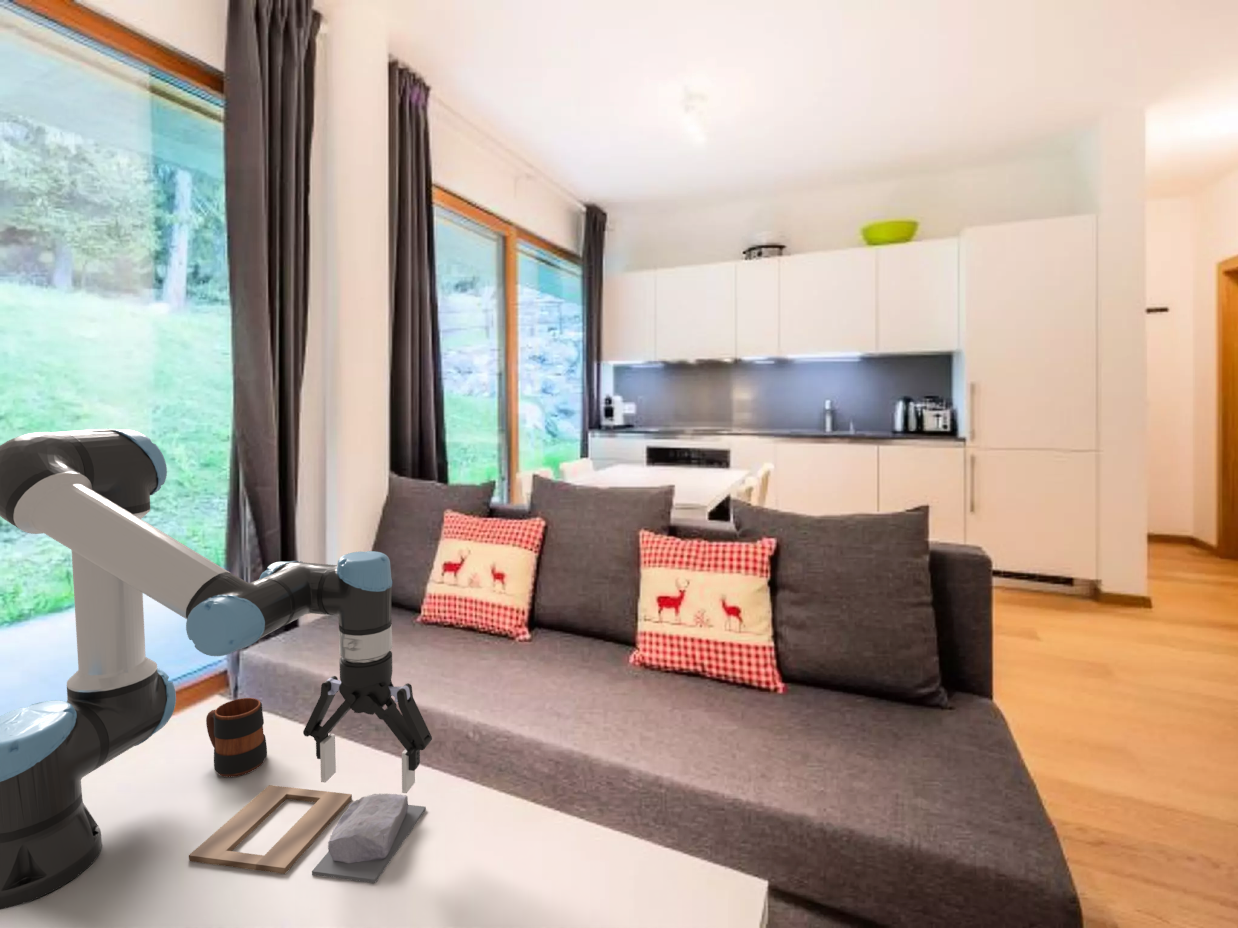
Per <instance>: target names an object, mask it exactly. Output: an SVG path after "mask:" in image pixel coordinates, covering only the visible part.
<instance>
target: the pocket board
mask: <svg viewBox="0 0 1238 928" xmlns="http://www.w3.org/2000/svg"><path fill="white" fill-rule="evenodd" d="M352 796H353V795H352V794H351V793H344V792H333V791H327V790H326V791H325V790H319V789H318V790H316V789H308V788H299V787H298V788H297V787H290V786H282V785H270V784H269V785H267V786H266V787H265V788H264V789H263V790H262V791H260V792H259V793H258V794H256V796H255V797H254V798H252V800H250V801H249V802H248V803H247V804H246V805H245V806H243V807H242V808H241V809H240V810H239V811H238V812H236V813H235V814H234V815H233V816H232V817H230V818H229V820H227V821H226V822H225V823H224V824H222V826H220V827H219V828H218V829H217V830H216V831H214V832H213V833H212V834H211V835H210V836H209V837H208V838H207V839H206V840H205V841H203V842H202V843H201V844H200V845H199V846H197V847H196V848H195V849H194V850H193V851H192V852H191V853H189V854H188V862H190V863H198V864H206V865H211V866H212V865H213V866H221V867H229V868H236V869H242V870H249V871H250V870H251V871H259V872H264V873H265V872H266V873H274V874H280V875H286V874H287V873H288V872H289V871H290V869H291V868H292V867H293V866H294V865H295V864H296V862H298V861H299V859H300V858H301V857H302V856H303V855H304V854H305V853H306V852H307V851H308V849H310V847H311V846H312V845H313V844H314V843H315V841H317V839H318V838H319V837H320V836H321V834H323V832H324V831H326V829H327V828H328V827H329V826H330V825H331V823H333V822H334V820H335V819H337V817H338V816H339V815H340V814H341V812H342V811H343V810H344V809H345V808H346V807H347V806H349V804H350V803H351V801H352V799H353V797H352ZM287 800H289V801H298V802H305V803H306V802H307V803H314V804H313V805H312V806H311V807H310V808H309V809H308V810H307V811H306V812H305V813H304V814H303V815H301V817H300V818H299V819H298V820H297V822H295V823H294V825H292V826H291V827H290V828H289V829H288V830H287V832H285V833H284V834H283V835H282V837H280V839H279V840H278V841H277V842H276V843H275V844H274V845H272V846H271V848H270V849H268V851H267V852H266V853H265V854H256V853H249V852H240V851H234V850H235V849H236V848H237V847H238V846H239V845H240V844H241V843H243V841H244V840H245V839H247V838H248V837H249V835H250V834H252V833H253V832H254V831H255V830H256V829H257V828H258V827H259V826H260V825H261V824H262V823H264V821H266V820H267V819H268V818H269V817H270V816H271V815H272V814H273V813H274V812H275V811H276V810H277V809H278V808H279V807H281V805H283V803H284V802H286V801H287Z"/></svg>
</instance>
